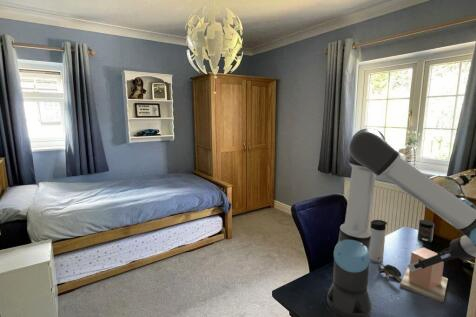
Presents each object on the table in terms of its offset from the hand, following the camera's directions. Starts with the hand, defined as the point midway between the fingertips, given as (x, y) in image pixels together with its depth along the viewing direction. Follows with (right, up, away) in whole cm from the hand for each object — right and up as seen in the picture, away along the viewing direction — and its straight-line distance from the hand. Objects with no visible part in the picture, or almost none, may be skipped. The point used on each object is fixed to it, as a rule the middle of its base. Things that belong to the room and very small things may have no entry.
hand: (420, 263), depth 109 cm
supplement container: (+26, -1, +34) cm, 43 cm away
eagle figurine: (-11, -8, +4) cm, 14 cm away
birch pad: (+1, -8, -1) cm, 8 cm away
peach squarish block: (+1, -7, -1) cm, 7 cm away
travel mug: (-9, -5, +17) cm, 20 cm away
